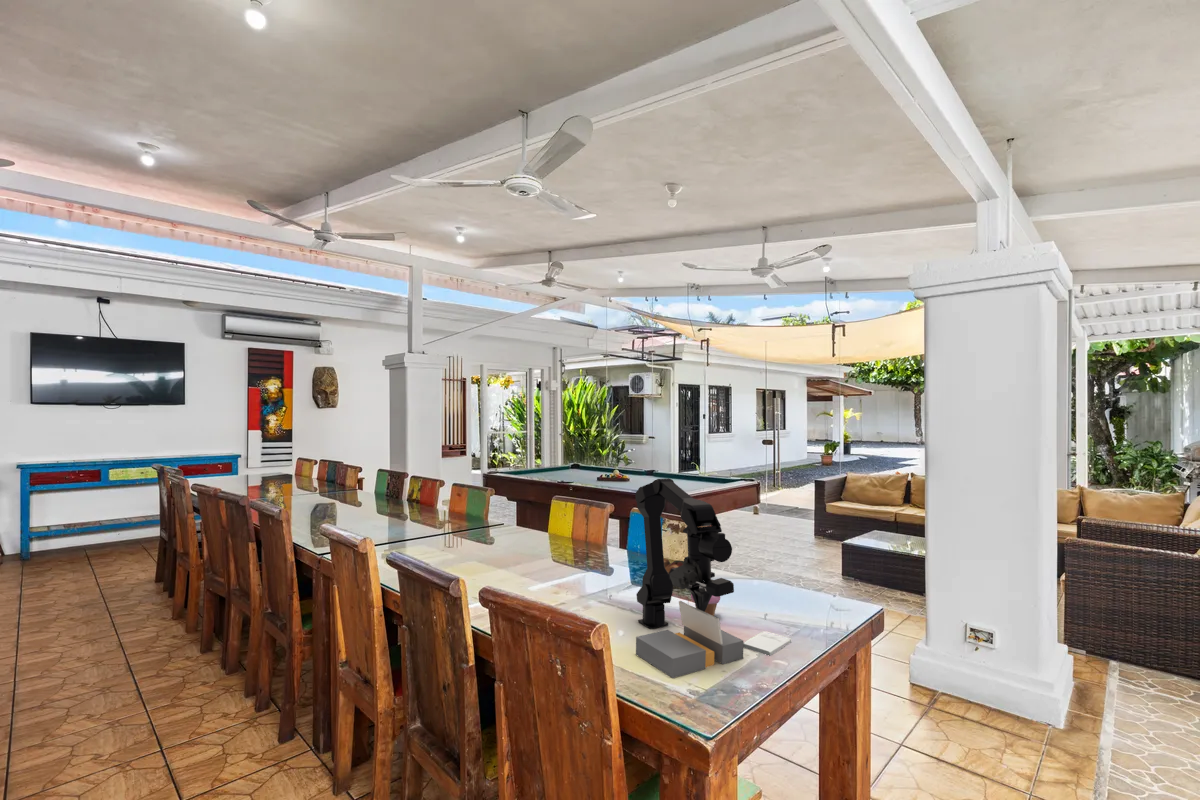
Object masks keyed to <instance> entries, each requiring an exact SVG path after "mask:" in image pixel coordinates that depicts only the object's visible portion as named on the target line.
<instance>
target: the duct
mask: <svg viewBox="0 0 1200 800" xmlns="http://www.w3.org/2000/svg"><path fill="white" fill-rule="evenodd" d="M675 633H676V632H673V631H670V630H669V629H665V630H661V631H660V630H659V631H656V632H652V633H647V634H642V635H637V636H636V637H635V655H636V656H637V655H638V656H637V657H639V658H641V659H642V660H643V661H645V662H647V663H648V664H650V665H651V664H652V665H651V666H653V667H655V668H656V669H658V670H659V671H661V672H662V673H664V674H666V675H667V676H668V677H670V678H672V679H674V678H677V677H681V676H685V675H688V674H692V673H695V672H701V671H703V670H706V667H705V662H706V650H704V649H702V648H700V647H699V646H697V645H695V644H693V643H691V642H689V641H688V640H686V639H684V638H682V637H680V636H678V635H676V634H675ZM683 635H685V636H687V637H689V638H690V639H692V640H694V641H696V642H698V643H699V644H701V645H703V646H705V647H707V648H708V649H710V650H712V651H714V661H716V662H717V663H720V664H721V665H724V664H725V665H726V664H728V663H731V662H736V661H739V660H742V659H744V648H743V644H744V642H745V641H744V640H743V639H741V638H739V637H737V636H735V635H733V634H731V633H729V632H727V631H726V630H725V631H724V630H723V629H721V635H722V641H723V644H719V643H717V642H715V641H713V640H711V639H709V638H707V637H705V636H703V635H702V634H700V633H698V632H696V631H694V630H692V629H690V628H688V627H686V626H684V625H683Z"/></svg>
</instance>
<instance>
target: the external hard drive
mask: <svg viewBox="0 0 1200 800" xmlns="http://www.w3.org/2000/svg"><path fill="white" fill-rule="evenodd" d="M789 643H790V644H791V643H792V638H790V637H788V636H787V637H786V636H783V635H780V634H777V633H773V632H769V631H767V630H763V631H761V632H760V633H758V634H756V635H753V637H751V638H749V639H748V640H747V639H746V640H745V641H744V644H743V649H746V650H749V651H753V652H756V653H760V654H763V655H765V654H766V655H765V656H768V655H769V656H768V657H772V656H773V655H774V654H775V652H776V653H778V652H779V651H781V650H782V649H783V648H785V647H787V646H788V645H790V644H789ZM786 645H787V646H786ZM784 646H785V647H784ZM778 650H779V651H778ZM772 654H773V655H772Z"/></svg>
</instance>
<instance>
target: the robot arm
mask: <svg viewBox="0 0 1200 800" xmlns="http://www.w3.org/2000/svg"><path fill="white" fill-rule="evenodd" d="M674 481H675V480H673V479H671V478H665V477H664V478H657V479H655V480H653V481H652V482H650V483H647V484H645V485H643V486H640V487H638V488H637V490H636V491H635V495H634V496H635V498H634V499H635V502H636V507H637V509H638V511H639V512H640V514H641V516H642V517H643V529H644V542H645V555H646V569H645V572H644V574H643V576H642V581H641V582H642V583H641V584H642V586H641V587H640V589H639V590H638V591H637V593H636V601H637V603H638V604H640V605H642V619H638V621H637V622H638V623H639V624H641V625H643V626H645V627H646V628H648V629H651V630H653V629H657V628H660V627H665V626H669V622H667V621H666V620H665V619H666V618H665V617H666V616H665V615H666V613H665V612H666V611H665V604H670V603H671V600H672V597H673V593H674V587H676V588H680V589H681V590H685V589H686V590H687V591H689V592H690V593H691V594H692V596H693V599H694V601H695V602H694V601H693V602H694V605H695V604H696V606H695V608H696V607H697V609H699V610H701V611H703V612H705V610H706V608H707V605H708V603H709V601H710V599H711V597H712V595H713V596H715V597H720V598H721V597H723V596H726V595H729V594H733V593H735V589H734V588H735V587H734V586H735V585H734V583H733V581H731V580H729V579H726V578H722V577H719V578H715V576H716V574H715V572H713V571H712V562H718V563H725V562H727V561H728V560H729V559H730V557H731V556H732V553H733V547H732V544H731V542H730V541H729V540H728V539H727V538H726V533H724V532H723V530H722V529H723V528H722V527H721V526H722V525H721V523H720V521H719V520H718V517H717V515H716V511H715V510H714V507H713V506H712V505H711V504H710V503H708V502H706V501H704V500H701V499H696V498H694V497H692V496H691V495H690V494H688V493H687V492H686V491H685V490H684V489H682V488H681V487H680V486H678V485H677V484H676V483H675V482H674ZM666 501H668V502H669V503H670V504H671V505H672V506H674V508H676V509H677V510H678V512H679V513H680V519H681V520H682V522H683V523H684V524H685V526H686V527H685V528H683V530H682V533H684V534H686V539H687V556H684V559H683V561H684V564H683V565H682V566H679V567H676V568H672V569H671V570H670V572H669V574H668V572H667V571H666V569H665V567H664V559H665V558H664V545H663V532H662V520H661V518H662V514H663V512H664V510H665V508H666ZM712 578H715V579H712ZM691 594H690V595H691Z"/></svg>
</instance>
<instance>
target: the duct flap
mask: <svg viewBox="0 0 1200 800" xmlns="http://www.w3.org/2000/svg"><path fill="white" fill-rule="evenodd" d="M678 606H679V613H680V618H681V619H680V620H681V625H682V626H683V627H684V626H686V627H688V628H690V629H692V630H694V631H696V632H698V633H700V634H702V635H703V636H705V637H707V638H709V639H711V640H713V641H715V642H717V643H719V644H723V641H722V635H721V630H722V629H721V622H720V618H719V617H716V616H715V615H714V616H712V615H710V614H708V613H706V612H703V611H701V610H699V609H697V608H696V606H695V607H694V606H692V605H691V604H688V603H686V602H683V601H682V600H679V601H678Z"/></svg>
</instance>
